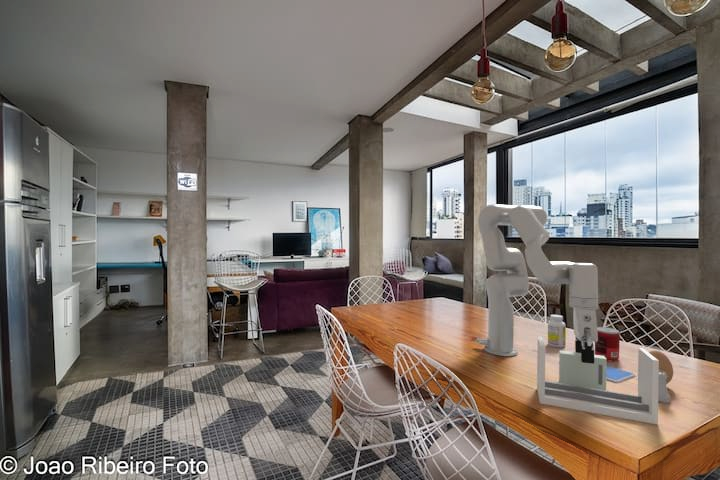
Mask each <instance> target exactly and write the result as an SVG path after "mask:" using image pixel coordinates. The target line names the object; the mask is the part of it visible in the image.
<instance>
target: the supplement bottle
mask: <svg viewBox="0 0 720 480" xmlns="http://www.w3.org/2000/svg"><path fill="white" fill-rule="evenodd" d="M563 320H564V316H563V315H560V314H550V320H549V321H548V322H547V344H548V345H549V346H551V347H555V348H565V347H566V344H567V343H566V334H567V333H566V331H567V330H566V328H567V326H566V323H565V321H563Z"/></svg>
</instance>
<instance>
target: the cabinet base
mask: <svg viewBox="0 0 720 480" xmlns="http://www.w3.org/2000/svg"><path fill="white" fill-rule="evenodd" d="M649 352H650V351H648V350H646V349H645V348H644V347H643V348H642V347H638V352H637V354H638V355H637V357H638V360H637V361H638V362H637V365H638V366H637V395H636V394H630V393H623V392H618V391H610V390H607V389H606V390H599V389H593V388H587V387H580V386H574V385H568V384H561V383H560V382H555V381H554V382H553V381H547V380H546V344H545V342H544V338H543V337H542V336H537V357H536V359H537V360H536V361H537V362H536V363H537V364H536V368H537V370H536V391H537V395H538V401H539V404H542V405H549V406H554V407H560V408H564V409H570V410H575V411H576V410H577V411H581V412H585V413H592V414H598V415H604V416H607V417H614V418H619V419H626V420H630V421H634V422H640V423H646V424H652V425H659V402H658V378H659V360H657V359H656V358H655V357H654V356H652V355H651V354H650V353H649Z"/></svg>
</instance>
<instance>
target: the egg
mask: <svg viewBox="0 0 720 480" xmlns="http://www.w3.org/2000/svg"><path fill="white" fill-rule="evenodd" d="M648 352H649V353H650V354H651V355H652V356H654V357H655V358H656V359H657V360H659V371H661V373H662V371H663V372H665V373H667V376H668V378H667V379H666V381H667V383H666V385H668V384H669V383H671V381H672V380H673V377H674V369H673V364H672V361H670V359H669V357H668V356H667V355H666V354H665V353H663V352H662V351H660V350H651V351H648Z"/></svg>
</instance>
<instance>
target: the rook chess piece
mask: <svg viewBox="0 0 720 480" xmlns="http://www.w3.org/2000/svg"><path fill="white" fill-rule="evenodd" d="M667 378H668V376H667V373H665V372H663V371H662V373H661V371H659V378H658V403H663V404H669V403H670V402H671V401H672V400H671V395H670V394H669V392H668V389H667V384H666V383H667V381H666V379H667Z"/></svg>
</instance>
